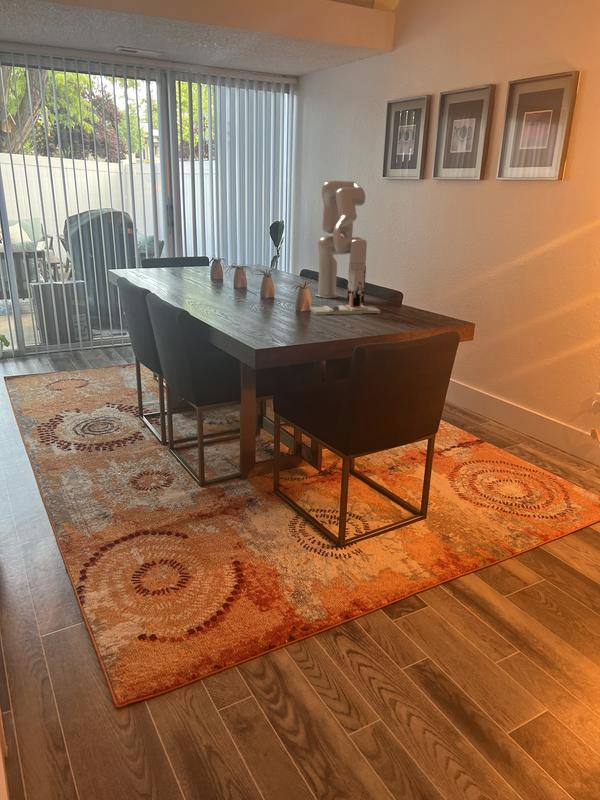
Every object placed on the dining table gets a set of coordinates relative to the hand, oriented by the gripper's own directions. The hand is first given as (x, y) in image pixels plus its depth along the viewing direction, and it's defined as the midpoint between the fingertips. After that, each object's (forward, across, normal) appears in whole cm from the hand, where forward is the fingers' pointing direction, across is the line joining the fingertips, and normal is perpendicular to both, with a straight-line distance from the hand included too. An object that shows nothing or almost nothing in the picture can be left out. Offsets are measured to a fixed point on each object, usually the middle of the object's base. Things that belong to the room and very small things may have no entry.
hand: (355, 304), depth 288 cm
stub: (+1, 0, +1) cm, 2 cm away
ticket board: (+3, 0, -5) cm, 6 cm away
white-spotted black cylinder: (+3, -14, +5) cm, 15 cm away
